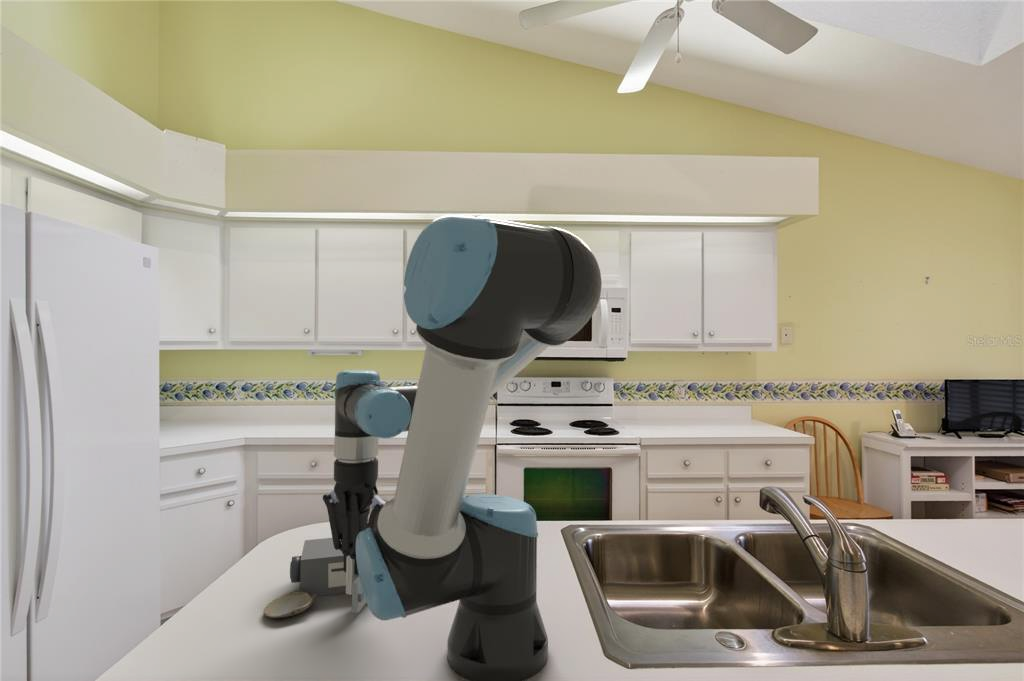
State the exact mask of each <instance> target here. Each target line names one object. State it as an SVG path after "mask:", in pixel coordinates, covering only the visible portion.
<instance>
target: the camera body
mask: <svg viewBox="0 0 1024 681" xmlns="http://www.w3.org/2000/svg"><path fill="white" fill-rule="evenodd" d="M340 541H341V540H340ZM343 566H344V555H343V553H342V551H341V550H339V549H338V550H336V549H335V548H334V544H333V538H332V537H323V538H317V539H315V538H314V539H305V540H304V542H303V548H302V553H301V555H297V556H296V555H295V556H291V561H290V563H289V578H290V582H291V583H290V584H294V583H295V584H296V583H300V592H306V593H309V594H315V593H316V596H315V597H316V598H317V597H323V596H331V595H340V594H346V572H344V569H343ZM315 597H314V598H315Z"/></svg>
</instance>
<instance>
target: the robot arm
mask: <svg viewBox="0 0 1024 681" xmlns="http://www.w3.org/2000/svg"><path fill="white" fill-rule="evenodd" d="M601 274H602V273H601V269H600V266H599V262H598V260H597V258H596V256H595V254H594V252H593V251H592V250H591V248H590V247H589V245H587V244H586V243H585V242H584V241H583V240H582V239H581V238H580V237H578V236H577V235H575V234H573V233H572V232H570V231H568V230H566V229H562V228H559V227H555V226H554V227H553V226H541V225H535V224H530V223H529V224H528V223H522V222H517V221H516V222H515V221H511V220H510V221H509V220H502V219H497V218H496V219H495V218H490V217H485V216H481V215H478V214H477V215H470V216H469V215H468V216H466V215H456V214H452V215H451V214H450V215H449V214H448V215H442V216H439V217H437V218H435V219H434V220H432V221H430V223H429V225H427V226H425V228H423V229H422V230H421V232H420V233H419V235H418V237H417V238H416V240H415V242H414V244H413V246H412V248H411V251H410V253H409V257H408V260H407V263H406V267H405V272H404V279H403V285H404V287H405V291H404V294H403V298H404V306H405V309H406V313H407V315H408V317H409V319H410V320H411V321H412V322H413V323H414V324H416V327H415V332H416V334H417V336H418V338H419V339H420V340H421V341H422V342H423V344H424V345H425V346H426V347H425V350H424V355H423V360H422V364H421V368H420V375H419V379H418V383H417V384H415V385H393V386H381V379H380V378H381V377H380V373H379V372H378V371H376V370H371V369H370V370H369V369H368V370H367V369H348V370H340V371H339V372H338V373H337V374H336V378H335V388H334V398H335V400H334V446H333V457H335V460H334V462H333V480H334V482H335V485H334V486H333V490H331V491H330V492H328V493H325V494H324V495H322V500H323V503H324V505H325V507H326V509H327V515H328V520H329V526H330V531H331V538H333V544H334V548H335V549H336V550H338V549H339V550H341V551H342V553H343V555H344V566H343V569H344V572H346V593H345V594H346V595H350V596H352V583H353V582H354V581H355V580H356V579H357V578H358V576H359V578H360V583H361V587H362V590H363V594H364V597H365V600H366V604H367V607H368V609H369V611H370V612H371V614H372V616H373V617H374V618H377V619H378V620H381V621H390V620H393V619H398V618H403V619H404V618H407V617H408V616H410V615H411V616H412V615H414V614H418V613H420V612H425V611H427V610H431V609H433V608H437V607H441V606H443V605H446V604H450V603H453V602H456V601H458V605H457V609H456V611H455V615H454V618H453V621H452V624H451V628H450V630H449V634H448V636H447V641H446V642H447V645H446V646H447V647H446V648H447V650H446V651H447V652H446V654H447V656H446V658H447V661H448V663H449V665H450V667H451V668H452V669H453V670H454V671H455V672H456V673H458V675H460V676H462V677H464V678H466V679H468V680H471V681H523V680H526V679H528V678H530V677H532V676H534V675H536V674H537V673H538V672H540V670H542V669H543V667H544V666H545V665H546V663H547V661H548V658H549V638H548V634H547V631H546V628H545V624H544V622H543V618H542V615H541V612H540V608H539V606H538V602H537V588H538V587H537V586H538V585H537V584H538V583H537V578H538V577H537V576H538V575H537V573H538V572H537V568H538V567H537V565H538V564H537V557H538V556H537V554H538V549H537V545H538V543H537V542H538V537H539V533H538V525H537V513H536V511H535V509H534V507H532V505H531V504H529V503H527V502H526V501H523V500H521V499H518V498H515V497H510V496H505V495H500V494H487V493H479V494H478V493H477V494H476V493H475V494H468V495H465V493H466V489H467V485H468V481H469V479H470V474H471V470H472V467H473V464H474V463H473V462H474V458H475V455H476V452H477V448H478V445H479V441H480V438H481V434H482V429H483V426H484V423H485V422H484V421H485V419H486V415H487V411H488V409H489V404H490V400H491V397H492V396H493V395H494V394H496V393H497V392H498V391H499V390H500V389H501V388H502V387H504V386H505V385H506V384H507V383H509V381H511V380H512V379H513V378H514V377H515V376H517V375H518V374H519V373H520V372H522V370H523V369H525V367H527V366H528V365H529V364H531V363H532V362H533V361H534V360H535V359H536V358H538V357H539V356H540V355H541V354H542V353H544V351H546V350H547V349H548V348H549V347H558V346H561V345H564V344H565V343H567V342H568V341H569V340H570V339H572V338H573V337H574V336H575V335H576V334H577V333H579V332H580V331H581V330H582V329H583V328H584V326H585V325H587V323H588V322H589V321H590V319H591V318H592V317H593V315H594V313H595V311H596V310H597V307H598V305H599V302H600V298H601V293H602V275H601ZM405 432H407V436H406V441H405V445H404V451H403V455H402V459H401V460H402V461H401V464H400V471H399V473H398V474H399V475H398V478H397V479H398V480H397V483H396V489H395V491H394V492H395V494H394V498H391V499H390V500H388V499H384V500H383V499H382V498H381V497H380V496H379V490H378V488H377V480H378V478H379V459H378V458H377V457H378V455H379V439H380V438H381V439H392V438H395V437H397V436H398V435H400V434H401V433H405ZM371 505H372V506H371ZM340 540H341V541H340Z"/></svg>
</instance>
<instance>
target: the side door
mask: <svg viewBox="0 0 1024 681" xmlns="http://www.w3.org/2000/svg"><path fill="white" fill-rule="evenodd" d="M366 604H367V602H366V600H365V597H364V594H363V590H362V587H361V583H360V578H359V576H358V578H357V579H356V580H355V581H354V582H353V583H352V595H351V613H353V614H359V613H360V611H361V610H362V609H363V608H364V606H365V605H366Z"/></svg>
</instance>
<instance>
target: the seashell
mask: <svg viewBox="0 0 1024 681" xmlns="http://www.w3.org/2000/svg"><path fill="white" fill-rule="evenodd" d="M315 596H316V593H315V594H309V593H306V592H301V591H299V590H298V591H294V592H289V593H286V594H283V595H279V597H277V598H275V599H273V600H272V601H270V602H268V603H267V604H266V606H265V607H264V608H263V615H264V616H265V617H266V618H267V617H268V618H273V619H280V618H281V619H282V618H289V617H293V616H295V615H298V614H301V613H303V612H305V611H306V610H308V608H310V606H312V604H313V602H314V599H315Z"/></svg>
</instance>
